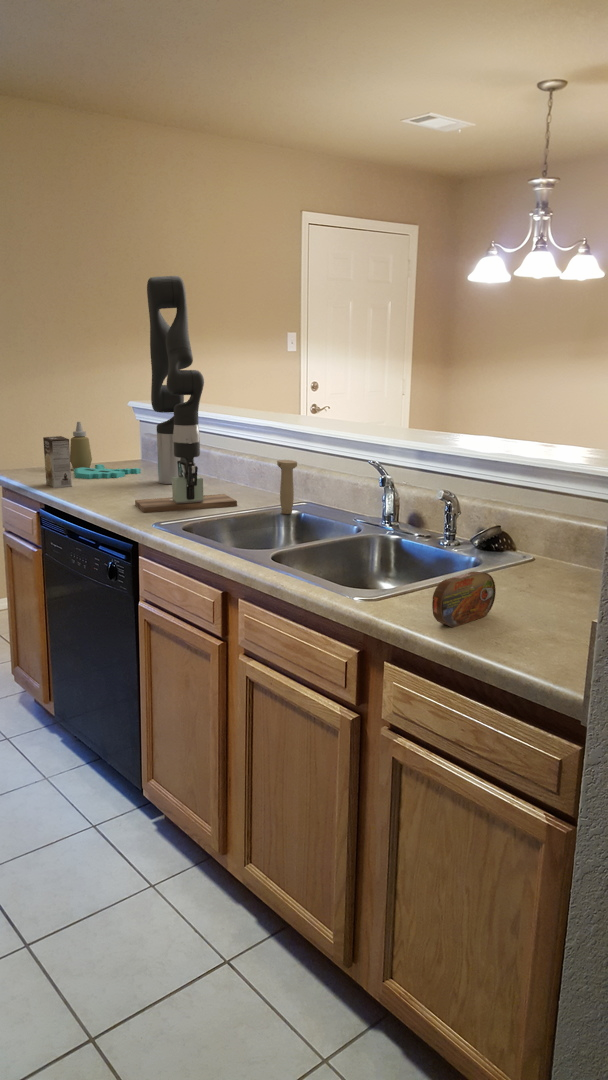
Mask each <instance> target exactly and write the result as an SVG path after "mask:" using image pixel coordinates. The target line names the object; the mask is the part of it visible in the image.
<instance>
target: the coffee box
mask: <svg viewBox="0 0 608 1080" xmlns="http://www.w3.org/2000/svg"><path fill="white" fill-rule="evenodd" d="M70 445H71V444H70V438H67V437H64V436H62V435H58V436H57V435H56V436H44V437H43V453H44V467H45V468H44V469H45V481H46V482H45V483H46V485H48V486H50V487H52V488H53V489H59V488H68V487H69V488H70V487H73V486H72V469H71V467H72V464H71V462H70Z"/></svg>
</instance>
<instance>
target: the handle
mask: <svg viewBox="0 0 608 1080" xmlns="http://www.w3.org/2000/svg"><path fill="white" fill-rule="evenodd" d="M276 462H277V464H276V465H277V467H278V468H279V469H280V471H281V475H280V489H279V491H280V492H279V502H280V508H281V514H282V515H291V514H292V513H293V507H294V502H295V501H294V498H295V497H294V495H295V491H294V469H295V468H297V467H298V462H297V460H293V459H279V460H277V461H276Z"/></svg>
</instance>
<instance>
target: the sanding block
mask: <svg viewBox="0 0 608 1080" xmlns="http://www.w3.org/2000/svg"><path fill="white" fill-rule="evenodd" d="M190 482H192V479H191V480H190ZM171 487H172V488H171V490H172V495H171V496H172V497H173V501H174V502H175V503H177V504H178V503H193V502H203V495H204V477H202V476H199V475H197V486H195V487H194V497H195V498H194V499H193V500H188V499H187V494H186V479H184V477H172V484H171Z"/></svg>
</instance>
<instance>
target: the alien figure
mask: <svg viewBox="0 0 608 1080" xmlns="http://www.w3.org/2000/svg"><path fill="white" fill-rule="evenodd" d="M73 472H74V473H73V474H74V478H76V479H85V480H92V479H93V480H95V479H96V480H99V479H107V478H108V479H119V477H120V478H124V476H125V477H126V475H132V474H133V475H138V474H141V473H142V472H141V468H138V467H135V468H134V467H133V468H129V467H126V468H115V469H113V468H106V467H105V464H101V463H97V464H94V468H92V467H90V468H85V467H81V468H76V469H73ZM112 477H113V478H112Z"/></svg>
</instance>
